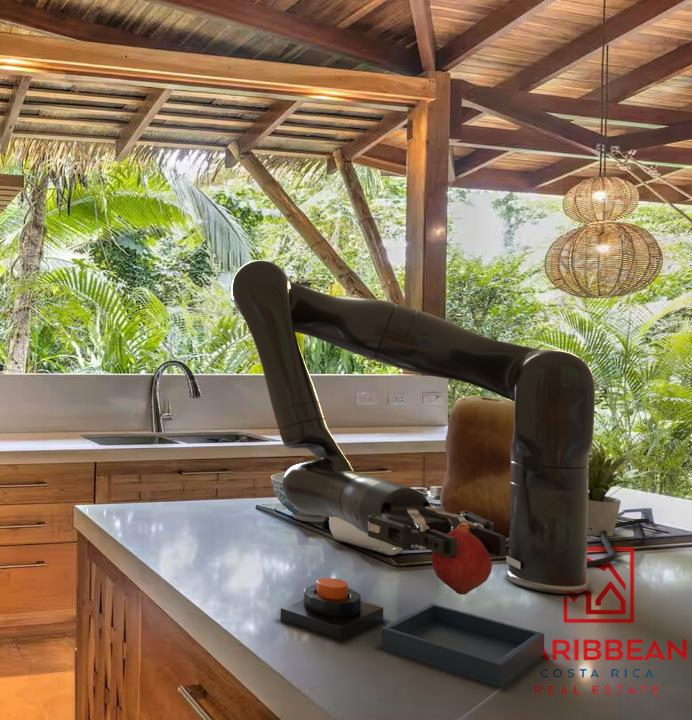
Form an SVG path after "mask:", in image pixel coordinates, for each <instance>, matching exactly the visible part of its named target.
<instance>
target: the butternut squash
mask: <svg viewBox="0 0 692 720" xmlns="http://www.w3.org/2000/svg"><path fill="white" fill-rule="evenodd" d="M514 410H515V402H514V401H512V400H510V399H507V398H500V397H499V398H498V397H487V396H481V395H467V396H463V397H461V398H459V399H458V400H457V401H455V403H454V404H453V406H452V408H451V410H450V414H449V419H448V423H447V431H446V436H445V444H444V445H445V446H444V449H445V452H446V458H447V462H446V463H447V467H446V472H445V475H444V478H443V482H442V485H441V488H440V490H439V503H440V508H441V510H442V511H443V512H448V513H452V514H457V515H461V511H469V512H471V513H473V514H475V515H477V516H480V517H482V518H484V519H486V520H488V521H490V522H492V523H494V526H493V532H495V533H498V534H501V535H503V536H505V538H506V539H509V528H510V461H511V460H510V448H511V442H512V438H513V432H514Z"/></svg>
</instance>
